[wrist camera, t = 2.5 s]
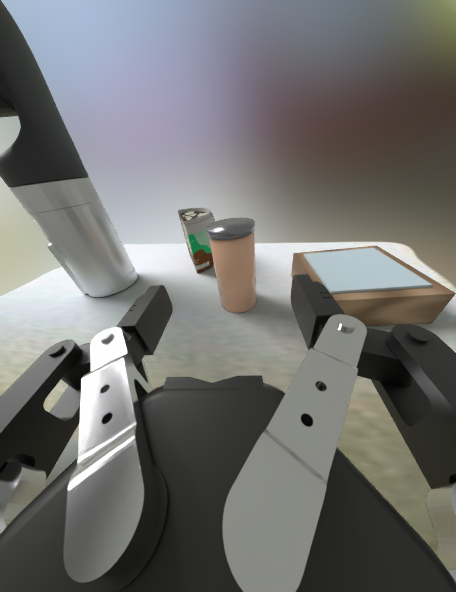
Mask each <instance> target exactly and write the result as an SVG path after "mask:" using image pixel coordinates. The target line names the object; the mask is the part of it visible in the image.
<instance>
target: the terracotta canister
mask: <svg viewBox="0 0 456 592" xmlns="http://www.w3.org/2000/svg"><path fill="white" fill-rule="evenodd" d="M206 229H207V235H208V237H209V240H210V246H211V251H212V256H213V262H214V267H215V272H216V278H217V283H218V288H219V293H220V299H221V304H222V307H223V308H224V309H225V310H227V311H229V312H233V313H241V312H245V311H248V310H250V309H252V308H253V307H254V306H255V304H256V278H255V248H254V231H255V222H254V220H252V219H249V218H230V219H224V220H220V221H216V222H213V223H211V224H209V225H208V226H207V227H206Z"/></svg>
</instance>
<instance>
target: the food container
mask: <svg viewBox="0 0 456 592" xmlns="http://www.w3.org/2000/svg"><path fill="white" fill-rule="evenodd" d="M178 213H179V217H180V220H181V224H182V228H183V231H184V235H185V239H186V242H187V246H188V250H189V253H190V257H191V259H192V262H193V264H194V266H195V269H196V271H197V273H200V272H203V271H205V270H208V269H209V268H211V267H212V266H213V265H214V262H213V256H212V251H211V246H210V240H209V237H208V235H207V229H206V227H207V226H208V225H209V224H211V223H213V222H215V219H214V216H213V214H212V213H211V211H210V209H207V208H190V209H182V210H178Z"/></svg>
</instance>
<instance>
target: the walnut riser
mask: <svg viewBox="0 0 456 592" xmlns="http://www.w3.org/2000/svg"><path fill="white" fill-rule="evenodd" d="M296 274H308V275H309V276H310V278H311V279H312V281H313V282H314V281H318V282H320V283H321V284H323V285H324V286H326V288H327V289H328V291H329V293H331V295H332V296H333V298H334V299H335V300H336V302H337V303H338V304H339V306H340V307H341V309H342V310H343V311H344V313H345V314H346V315H349V316H352V317H354V318H356V319H358V320H360V321H361V322H362V323H363V324H364V325H365V326H375V325H397V324H419V323H432V322H433V321H434V320H435V318H436V317H437V316H438V315H439V313H440V312H441V311H442V310H443V309H444V307H445V306H446V305H447V304H448V302H449V301H450V300H451V299H452V297H453V296H454V295H455V294H456V293H454V292H453V291H451V290H449V289H448V288H446V287H444V286H443V285H441V284H439V283H438V282H436V281H434V280H433V279H431V278H429V277H428V276H426V275H424V274H423V273H421V272H419V271H418V270H416V269H414V268H413V267H411V266H409V265H408V264H406V263H405V262H403V261H401V260H400V259H398V258H396V257H395V256H393V255H391V254H390V253H388V252H386V251H385V250H383V249H381V248H380V247H378V246H368V247H358V248H347V249H336V250H325V251H314V252H303V253H294V255H293V264H292V273H291V276H292V278H293V275H296Z"/></svg>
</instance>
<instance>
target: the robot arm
mask: <svg viewBox="0 0 456 592" xmlns="http://www.w3.org/2000/svg"><path fill="white" fill-rule="evenodd" d="M10 116H18V117H19V120H20V124H21V129H20V132H19V135H18V137H17V139H16V141H15V142H14V143H13V145H12V146H11V147H10V148H8V149H7V150H6V151H5V152H3V153H1V154H0V176H1V178H2V179H3V180H4V182H5V183H6V184H7V185H8V187H11V188H10V189H11V191H12V192H13V193H14V195H15V196H16V198H17V199H18V200H19V202H20V203H21V204H22V205H23V207H24V208H25V210H26V211H27V212H28V213H29V215H30V216H31V217H32V219H33V220H34V221H35V223H36V224H37V225H38V227H39V228H40V230H41V231H42V232H43V234H44V235H45V236H46V238H47V239H48V240H49V242H50V244H49V245H48V248H49V250H50V251H51V252H52V253H53V255H54V256H55V257H56V259H57V260H58V261H59V263H60V264H61V265H62V267H63V268H64V269H65V271H66V272H67V273H68V274H69V276H70V277H71V278H72V280H73V281H74V282H75V284H76V285H77V286H78V288H79V289H80V290H81V291H82V293H83V294H89V295H90V296H92V297H104V296H108V295H112V294H115V293H118V292H120V291H122V290H124V289H126V288H128V287H129V286H131V285H132V284H133V283H134V282H135V281H136V280H137V278H138V275H137V273H136V271H135V269H134V267H133V265H132V263H131V261H130V259H129V256H128V254H127V252H126V250H125V248H124V246H123V244H122V242H121V240H120V239H119V236H118V234H117V232H116V230H115V228H114V226H113V224H112V222H111V220H110V218H109V217H108V214H107V212H106V210H105V208H104V206H103V204H102V202H101V200H100V198H99V196H98V194H97V192H96V190H95V188H94V186H93V184H92V182H91V180H90V178H89V177H88V174H87V172H86V170H85V168H84V166H83V164H82V161H81V159H80V157H79V154H78V152H77V150H76V148H75V146H74V143H73V141H72V139H71V137H70V135H69V133H68V131H67V129H66V127H65V124H64V122H63V120H62V118H61V116H60V113H59V111H58V109H57V107H56V104H55V102H54V100H53V97H52V95H51V93H50V91H49V88H48V86H47V84H46V81H45V79H44V77H43V75H42V73H41V70H40V68H39V66H38V64H37V62H36V60H35V58H34V56H33V54H32V52H31V50H30V48H29V46H28V44H27V42H26V40H25V38H24V36H23V35H22V33H21V31H20V29H19V27H18V26H17V24H16V23H15V21H14V19H13V18H12V16H11V14H10V13H9V11H8V10H7V8H6V7H5V6H4V4H3V3H2V1H1V0H0V117H10ZM291 305H292V308H293V310H294V313H295V316H296V318H297V321H298V323H299V326H300V329H301V331H302V334H303V337H304V339H305V342H306V344H307V347H308V350H309V351H308V353H307V355H306V357H305V359H304V360H303V362H302V364H301V366H300V368H299V370H298V371H297V373H296V375H295V377H294V379H293V381H292V382H291V384H290V386H289V388H288V390H287V392H286V394H285V393H284V392H282V391H281V390H279V389H277V388H276V387H273V386H271V385H268V384H265V383H263V380H262V376H236V377H232V378H228V379H225V380H221V381H218V382H214V383H210V382H206V381H203V380H199V379H195V378H191V377H167V378H166V381H165V384H164V386H161V387H159V388H156V389H154V390H153V388H152V385H151V382H150V379H149V376H148V373H147V370H146V366H145V363H144V361H143V360H142V358H143V356H144V355H153V353H154V351H155V349H156V347H157V345H158V343H159V340H160V338H161V336H162V334H163V332H164V329H165V327H166V325H167V323H168V321H169V319H170V316H171V314H172V310H173V308H172V303H171V301H170V298H169V296H168V293H167V291H166V289H165V287H164V286H163V285H160V286H151V287H150V288H149V289H148V290H147V292H146V293H145V294H144V295H142V296H141V297H140V298H138V299H137V300H136V301H135V303H134V304H133V306H132V307H131V308H130V309H129V311H128V312H127V313H126V314H125V316H124V317H123V318H122V320H121V321H120V322H119V324H118V325H117V326H116V327H112V328H109V329H106V330H104V331H102V332H101V333H99V334H98V335H97V336H96V337H95V338H94V339H93V340H92V342H91V343H87V344H84V345H80V346H78V345H77V344H76V343H75V342H74V341H73V340H65V341H61V342H59V343H57V344H55V345H53V346H52V347H50V348H49V349H47V350H46V351H45V352H44V353H43V354H42V355H41V356H40V357H39V358H38V359H37V360H36V361H35V362H34V363H33V364H32V365H31V366H30V367H29V368H28V369H27V370H26V371H25V372H24V373H23V374H22V375H21V376H20V377H19V378H18V379H17V380H16V381H15V382H14V383H13V384H12V385H11V386H10V387H9V388H8V389H7V390H6V391H5V392H4V393H3V394H2V395H1V396H0V592H456V353H455V352H454V351H453V350H452V349H451V348H450V347H449V346H448V345H446V344H445V343H444V342H443V341H442V340H441V339H440V338H439V337H438V336H436V335H435V334H434V333H432V332H430V331H428V330H426V329H424V328H421V327H418V326H415V325H410V324H399V325H396V326H395V327H393V329H392V331H391V332H386V331H380V330H375V329H369V328H366V326H365V325H364V324H363V323H362V322H361V321H360V320H358V319H356V318H354V317H352V316H349V315H346V314H345V313H344V311H343V310H342V309H341V307H340V306H339V304H338V303H337V302H336V300H335V299H334V298H333V296H332V295H331V293H329V291H328V289H327V288H326V286H324V285H323V284H321V283H320V282H318V281H314V282H313V281H312V279H311V278H310V276H309V275H308V274H296V275H293V280H292V289H291ZM357 376H361V377H365V378H369V379H371V380H372V382H373V384H374V386H375V388H376V389H377V391H378V393H379V395H380V397H381V399H382V400H383V402H384V404H385V406H386V408H387V409H388V411H389V413H390V415H391V417H392V418H393V420H394V422H395V424H396V426H397V427H398V429H399V431H400V433H401V435H402V437H403V438H404V440H405V442H406V444H407V446H408V447H409V449H410V451H411V453H412V455H413V456H414V458H415V460H416V462H417V464H418V465H419V467H420V469H421V471H422V473H423V475H424V476H425V478H426V480H427V482H428V484H429V485H430V487H431V489H432V490H431V491H430V492H429V493H428V495H427V499H426V505H427V511H428V514H429V517H430V520H431V522H432V526H433V528H434V530H435V533H436V537H437V544H438V547H437V554H435V552H434V551H433V550H432V549H431V548H430V546H429V545H428V544H427V543H426V542H425V541H424V540H423V539H422V537H421V536H420V535H419V534H418V533H417V532H416V531H415V530H414V529H413V528H412V527H411V526H410V525H409V523H408V522H407V521H406V520H405V519H404V518H403V517H402V516H401V515H400V514H399V513H398V512H397V511H396V510H395V508H394V507H393V506H392V505H391V504H390V503H389V502H388V501H387V500H386V499H385V498H384V497H383V496H382V495H381V494H380V492H379V491H378V490H377V489H376V488H375V487H374V486H373V485H372V484H371V483H370V482H369V481H368V480H367V479H366V477H365V476H364V475H363V474H362V473H361V472H360V471H359V470H358V469H357V468H356V467H355V466H354V465H353V464H352V463H351V461H350V460H349V459H348V458H347V457H346V456H345V455H344V454H343V453H342V452H341V451H340V450H339V449H338V448H337V444H338V440H339V437H340V433H341V430H342V426H343V422H344V419H345V415H346V412H347V408H348V405H349V401H350V398H351V394H352V391H353V387H354V384H355V380H356V377H357ZM60 379H61V380H63V381H64V382H65V383H67V384H68V385H69V386H68V387H67V389H66V390H65V392H64V393H63V394H62V396H61V397H60V398H59V400H58V401H57V403H56V404H55V405H54V407H53V408H52V409H51V411H50V412H47V411H45V410H44V407H43V404H44V401H45V399H46V397H47V396H48V395H49V393H50V392H51V391H52V390H53V388H54V387H55V386H56V384H57V383H58V382H59V381H60ZM79 423H80V425H79V449H78V458H77V459H76V460H75V461H74V462H73V463H72V464H71V465H70V466H69V467H68V468H66V469H65V471H63V472H62V473H61V474H60V475H59V476H58V477H57V478H56V479H55V480H54V481H53V482H52V483H51V484H50V485H48V486H47V487H46V488H45V489H44V486H45V483H46V480H47V478H48V476H49V474H50V473H51V471H52V469H53V468H54V466H55V464H56V462H57V461H58V459H59V457H60V455H61V454H62V452H63V450H64V448H65V447H66V445H67V443H68V442H69V440H70V438H71V436H72V435H73V433H74V431H75V429H76V428H77V426H78V424H79Z"/></svg>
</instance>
